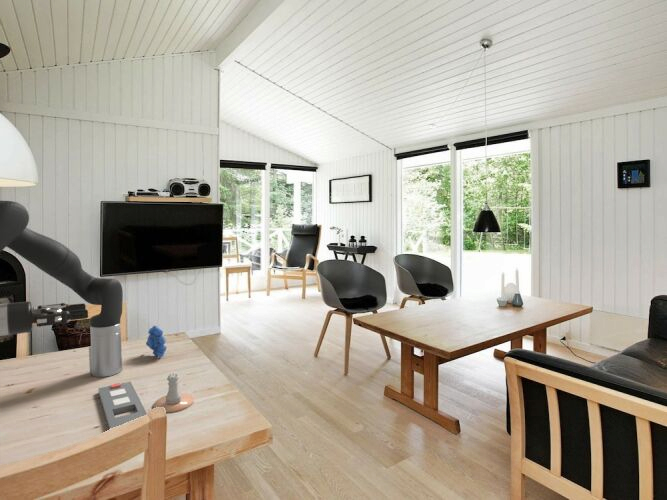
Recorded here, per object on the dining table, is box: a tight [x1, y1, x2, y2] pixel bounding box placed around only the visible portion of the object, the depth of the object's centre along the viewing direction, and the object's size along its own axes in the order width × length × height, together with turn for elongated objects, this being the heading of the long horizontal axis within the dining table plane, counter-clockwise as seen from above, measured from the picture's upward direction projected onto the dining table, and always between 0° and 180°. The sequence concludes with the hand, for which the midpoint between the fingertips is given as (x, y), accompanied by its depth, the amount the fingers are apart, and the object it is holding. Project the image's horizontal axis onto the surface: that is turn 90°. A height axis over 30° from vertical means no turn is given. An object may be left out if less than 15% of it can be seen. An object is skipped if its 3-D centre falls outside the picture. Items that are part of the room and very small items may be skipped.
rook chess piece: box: [165, 373, 182, 405], centre depth 116 cm, size 4×4×8 cm
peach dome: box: [153, 392, 195, 414], centre depth 116 cm, size 11×11×1 cm
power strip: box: [97, 381, 148, 429], centre depth 114 cm, size 30×9×2 cm, turn 36°
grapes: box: [145, 325, 167, 358], centre depth 155 cm, size 12×7×12 cm, turn 50°
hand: (86, 310), depth 104 cm, fingers open, 8 cm apart
